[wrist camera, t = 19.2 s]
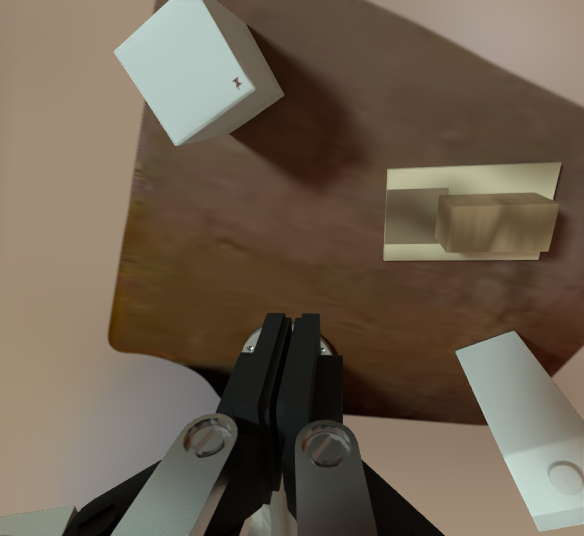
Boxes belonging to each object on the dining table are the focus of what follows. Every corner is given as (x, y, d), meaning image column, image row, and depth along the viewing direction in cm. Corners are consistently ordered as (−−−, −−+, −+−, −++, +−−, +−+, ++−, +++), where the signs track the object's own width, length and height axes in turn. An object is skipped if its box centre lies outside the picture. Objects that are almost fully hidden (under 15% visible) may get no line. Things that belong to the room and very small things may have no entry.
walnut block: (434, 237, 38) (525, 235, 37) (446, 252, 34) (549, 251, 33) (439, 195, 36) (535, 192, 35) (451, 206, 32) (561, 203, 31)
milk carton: (532, 372, 44) (652, 540, 27) (475, 390, 47) (552, 556, 29) (514, 329, 42) (630, 482, 25) (454, 350, 44) (524, 503, 27)
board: (535, 257, 38) (538, 260, 38) (383, 258, 41) (383, 260, 40) (558, 161, 34) (562, 162, 34) (387, 168, 37) (388, 170, 36)
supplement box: (245, 19, 33) (193, -26, 21) (286, 96, 35) (259, 91, 24) (184, 67, 35) (108, 49, 24) (226, 136, 37) (175, 149, 26)
